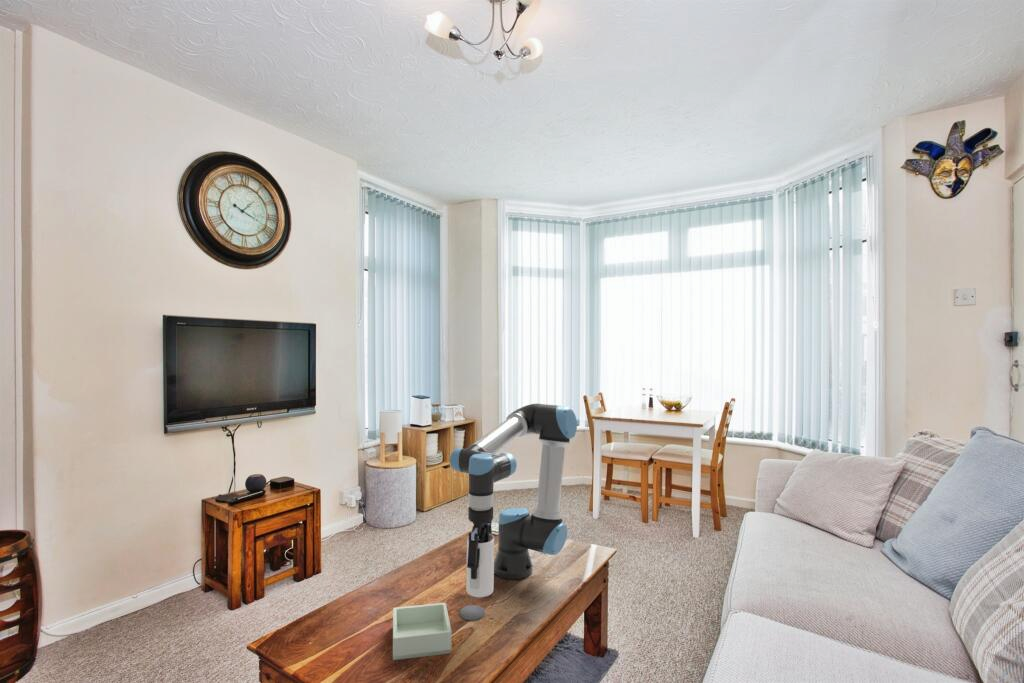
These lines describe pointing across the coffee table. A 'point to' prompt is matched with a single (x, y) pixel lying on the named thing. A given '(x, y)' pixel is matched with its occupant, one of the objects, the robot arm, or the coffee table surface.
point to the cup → (483, 569)
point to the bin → (421, 631)
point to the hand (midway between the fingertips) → (480, 580)
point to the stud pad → (472, 612)
